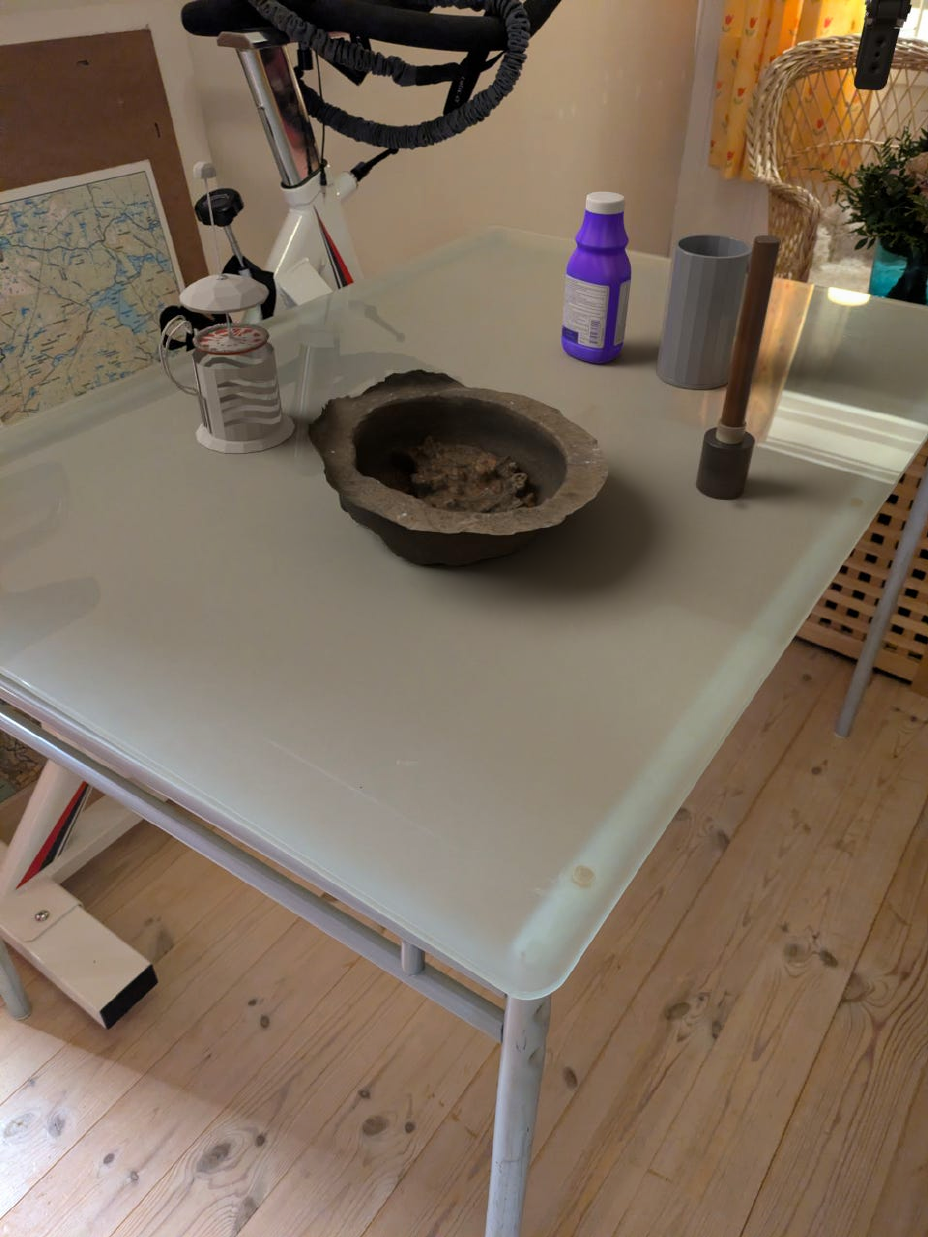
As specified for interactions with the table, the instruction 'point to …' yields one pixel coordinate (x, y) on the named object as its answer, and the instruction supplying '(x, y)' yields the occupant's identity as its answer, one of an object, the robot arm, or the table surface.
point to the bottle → (598, 282)
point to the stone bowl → (454, 466)
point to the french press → (231, 361)
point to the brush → (739, 384)
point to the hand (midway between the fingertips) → (868, 78)
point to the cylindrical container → (702, 310)
